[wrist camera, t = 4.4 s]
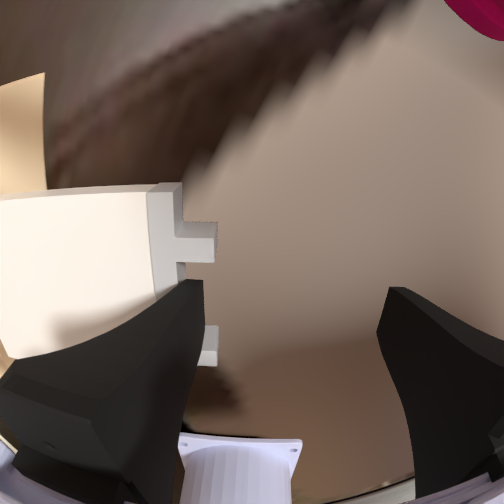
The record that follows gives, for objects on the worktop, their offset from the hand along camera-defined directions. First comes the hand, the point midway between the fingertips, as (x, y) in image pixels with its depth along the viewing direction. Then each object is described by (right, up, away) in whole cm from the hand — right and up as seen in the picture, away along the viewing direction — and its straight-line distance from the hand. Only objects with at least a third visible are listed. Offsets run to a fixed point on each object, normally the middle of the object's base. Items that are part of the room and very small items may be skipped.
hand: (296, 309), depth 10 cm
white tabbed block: (-9, +1, +2) cm, 10 cm away
